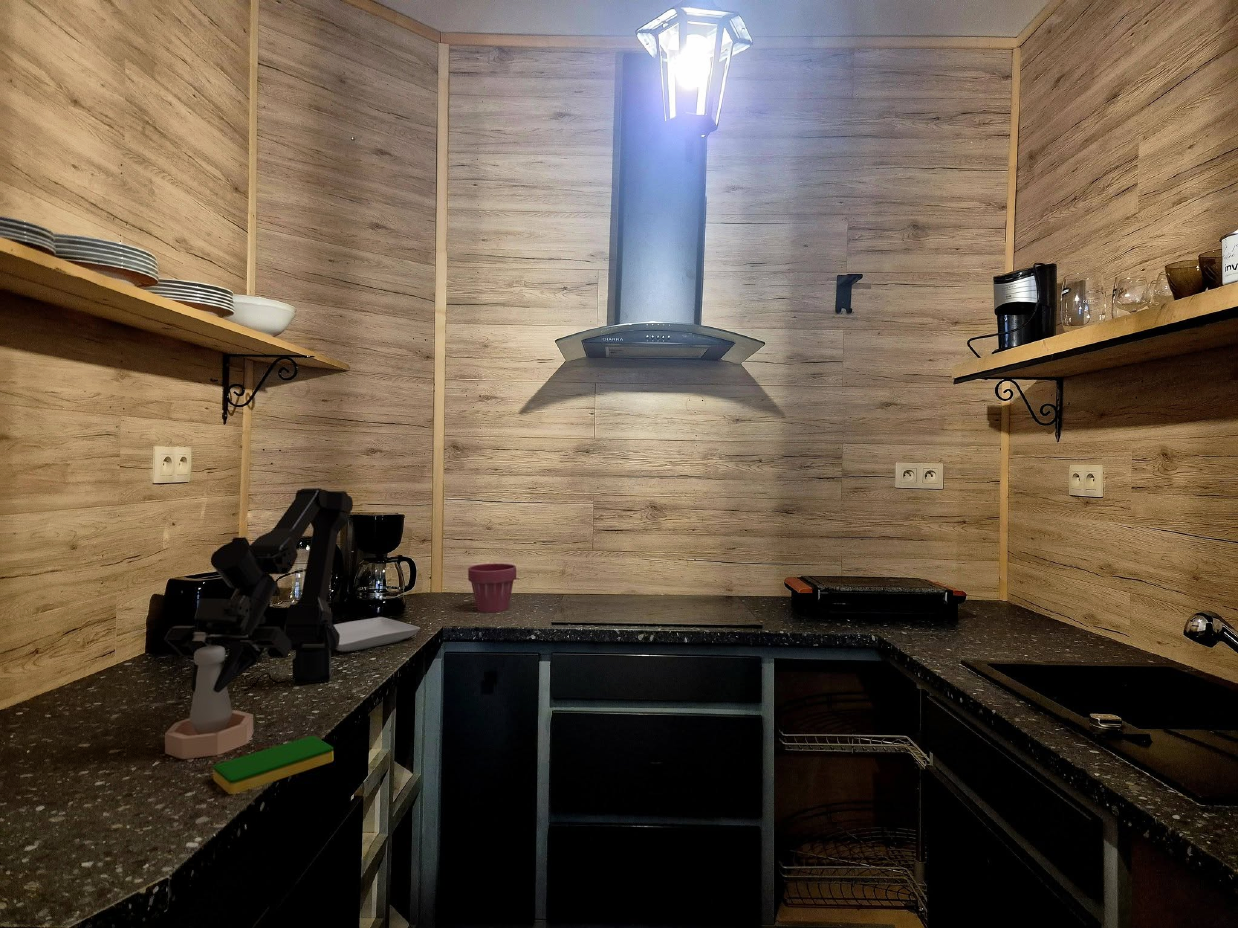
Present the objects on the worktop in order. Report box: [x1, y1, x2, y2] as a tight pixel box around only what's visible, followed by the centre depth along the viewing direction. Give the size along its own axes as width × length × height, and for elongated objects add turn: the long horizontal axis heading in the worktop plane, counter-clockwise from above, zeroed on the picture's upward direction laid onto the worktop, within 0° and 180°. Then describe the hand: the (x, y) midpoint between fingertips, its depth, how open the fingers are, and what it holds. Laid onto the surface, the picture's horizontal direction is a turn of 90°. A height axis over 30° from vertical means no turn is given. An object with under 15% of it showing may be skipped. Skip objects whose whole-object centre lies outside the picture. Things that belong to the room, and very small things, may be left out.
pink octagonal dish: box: [164, 709, 254, 760], centre depth 107 cm, size 11×11×3 cm
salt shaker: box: [189, 646, 233, 735], centre depth 107 cm, size 6×6×13 cm
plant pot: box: [467, 562, 517, 614], centre depth 205 cm, size 14×14×13 cm
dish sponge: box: [212, 735, 335, 795], centre depth 98 cm, size 7×14×2 cm, turn 137°
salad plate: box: [333, 616, 421, 653], centre depth 170 cm, size 21×21×3 cm
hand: (204, 691), depth 106 cm, fingers closed on salt shaker, 3 cm apart
